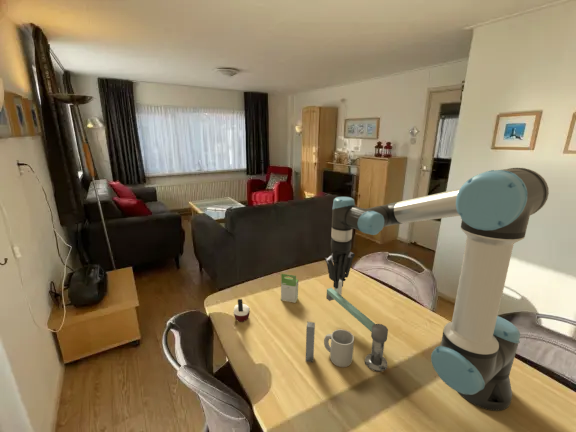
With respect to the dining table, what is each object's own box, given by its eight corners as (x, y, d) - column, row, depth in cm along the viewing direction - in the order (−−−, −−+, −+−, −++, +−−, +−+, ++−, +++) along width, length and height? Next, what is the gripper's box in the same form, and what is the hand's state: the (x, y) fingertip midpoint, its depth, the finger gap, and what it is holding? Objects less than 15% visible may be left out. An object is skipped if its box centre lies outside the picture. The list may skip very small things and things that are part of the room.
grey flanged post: (391, 364, 92) (394, 339, 89) (379, 375, 87) (382, 350, 85) (372, 351, 97) (375, 328, 94) (360, 362, 92) (363, 337, 90)
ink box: (298, 298, 128) (298, 271, 124) (295, 303, 124) (296, 276, 121) (283, 295, 130) (283, 269, 126) (280, 300, 126) (280, 273, 123)
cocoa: (239, 312, 118) (238, 286, 116) (253, 314, 117) (252, 288, 114) (229, 326, 109) (226, 298, 107) (243, 328, 108) (242, 300, 105)
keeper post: (313, 357, 94) (314, 322, 91) (312, 362, 92) (314, 327, 88) (306, 356, 95) (307, 321, 91) (305, 361, 93) (306, 326, 89)
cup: (347, 371, 89) (349, 348, 86) (318, 358, 94) (319, 335, 91) (355, 356, 95) (357, 334, 92) (328, 345, 100) (329, 323, 97)
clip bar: (389, 344, 89) (391, 331, 87) (378, 349, 87) (379, 335, 85) (333, 296, 115) (334, 285, 113) (323, 299, 113) (324, 288, 111)
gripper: (347, 232, 111) (344, 286, 117) (321, 238, 105) (318, 294, 111) (361, 238, 105) (356, 294, 111) (333, 245, 98) (330, 304, 105)
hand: (337, 294), depth 111 cm, fingers closed
